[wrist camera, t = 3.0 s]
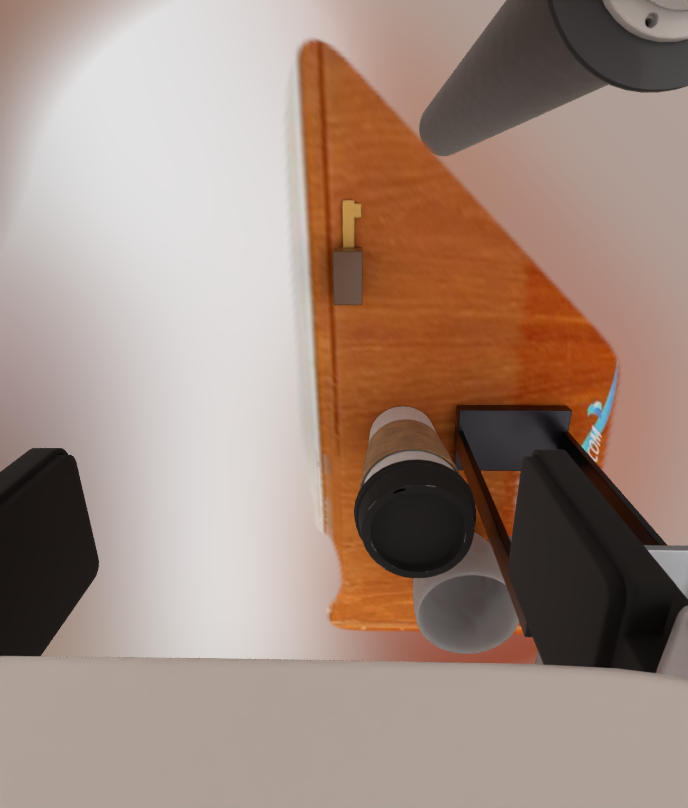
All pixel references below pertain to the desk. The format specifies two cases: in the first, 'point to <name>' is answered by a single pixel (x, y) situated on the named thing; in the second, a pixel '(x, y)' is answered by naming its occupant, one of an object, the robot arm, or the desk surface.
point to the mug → (466, 603)
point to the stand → (505, 450)
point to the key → (348, 261)
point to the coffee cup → (412, 498)
